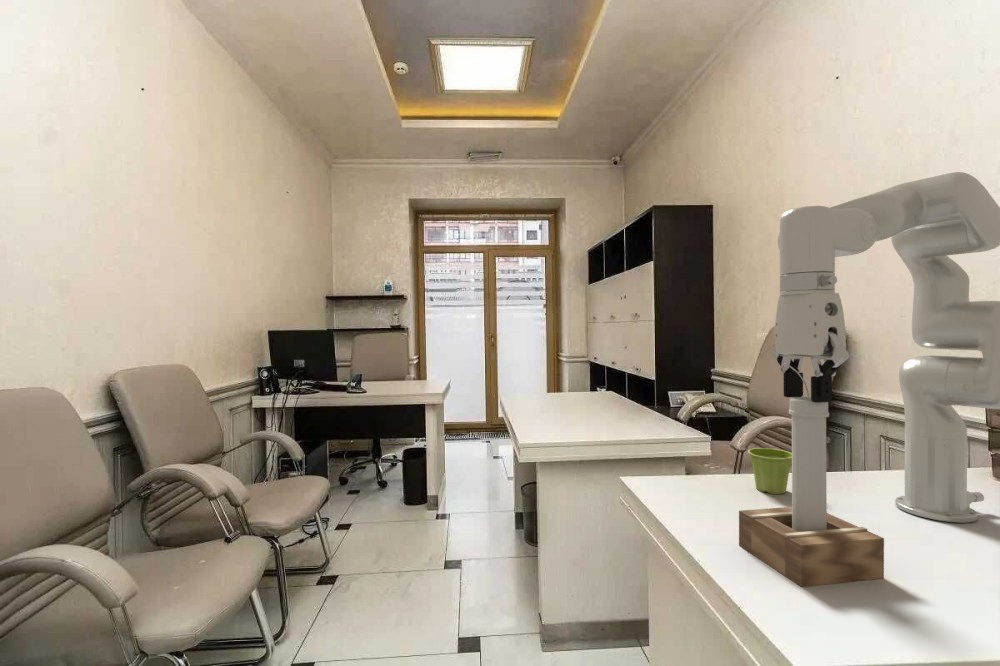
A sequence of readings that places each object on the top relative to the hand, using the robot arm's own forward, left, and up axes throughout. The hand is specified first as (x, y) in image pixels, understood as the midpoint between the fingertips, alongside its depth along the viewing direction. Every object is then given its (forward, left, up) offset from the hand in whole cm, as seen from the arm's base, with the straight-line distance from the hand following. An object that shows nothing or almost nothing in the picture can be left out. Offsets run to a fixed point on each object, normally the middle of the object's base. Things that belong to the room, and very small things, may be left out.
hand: (806, 398), depth 80 cm
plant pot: (-19, -32, -26) cm, 46 cm away
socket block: (0, 0, -26) cm, 26 cm away
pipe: (0, 0, -25) cm, 25 cm away
